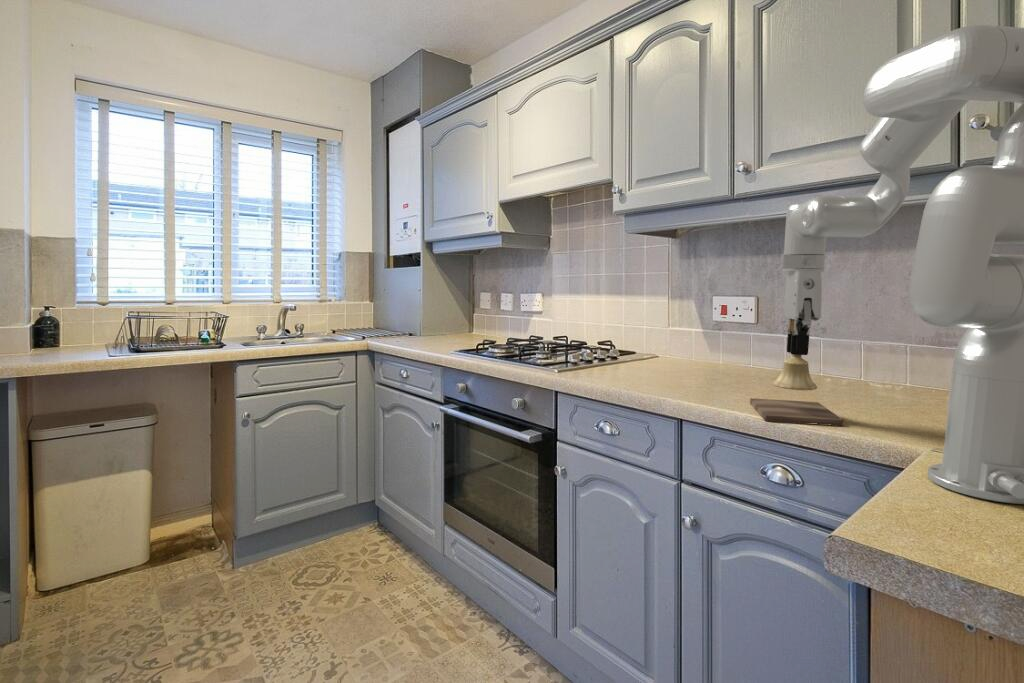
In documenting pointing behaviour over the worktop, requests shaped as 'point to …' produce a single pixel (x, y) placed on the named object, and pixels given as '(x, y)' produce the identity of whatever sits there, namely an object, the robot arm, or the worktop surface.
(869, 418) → the worktop surface
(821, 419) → the walnut board
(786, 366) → the hand bell
